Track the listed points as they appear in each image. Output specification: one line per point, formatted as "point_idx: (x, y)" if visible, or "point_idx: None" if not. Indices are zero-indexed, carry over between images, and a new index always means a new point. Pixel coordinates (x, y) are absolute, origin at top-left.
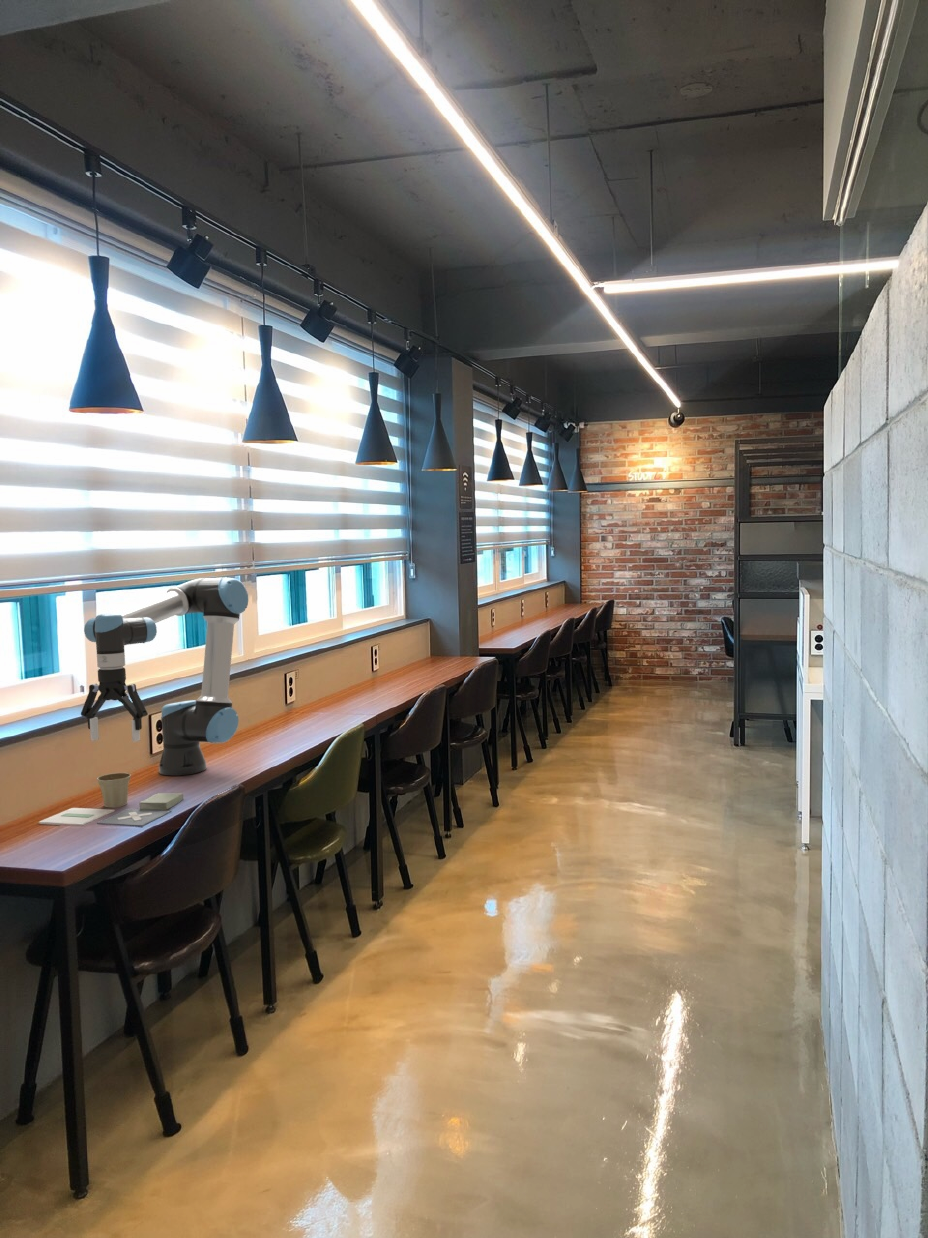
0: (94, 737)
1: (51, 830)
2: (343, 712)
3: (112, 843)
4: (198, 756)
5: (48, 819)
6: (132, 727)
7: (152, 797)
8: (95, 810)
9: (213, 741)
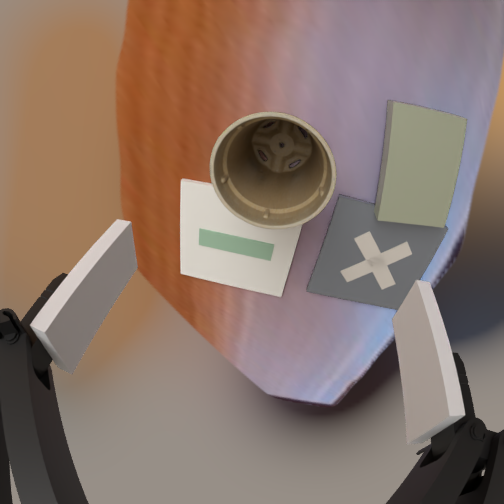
0: (127, 268)
1: (232, 304)
2: None
3: (364, 357)
4: None
5: (189, 262)
6: (408, 395)
7: (397, 160)
8: None
9: None
